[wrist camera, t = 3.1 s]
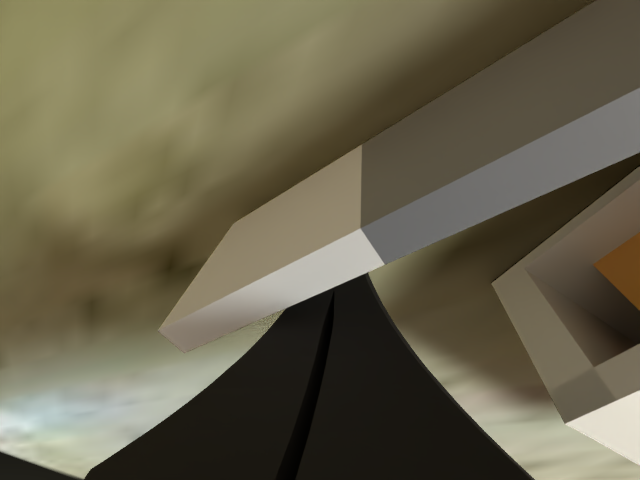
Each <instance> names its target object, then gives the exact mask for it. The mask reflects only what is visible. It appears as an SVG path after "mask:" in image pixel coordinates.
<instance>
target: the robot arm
mask: <svg viewBox="0 0 640 480" xmlns="http://www.w3.org/2000/svg"><path fill="white" fill-rule="evenodd" d="M84 480H535V479H534V478H532V477H531V476H530V475H529V474H528V473H527V472H526V471H525V470H524V469H523V468H522V467H521V466H520V465H519V464H518V463H517V462H515V461H514V460H513V459H512V458H511V457H510V456H509V455H508V454H507V453H506V452H505V451H504V450H503V449H502V448H501V447H500V446H499V445H498V444H497V443H496V442H495V441H494V440H493V439H492V438H491V437H490V436H489V435H488V434H487V433H486V432H485V431H484V430H483V429H482V428H481V427H480V426H479V425H478V424H477V423H476V422H475V421H474V420H473V419H472V418H471V417H470V416H469V415H468V414H467V413H466V412H465V410H464V409H463V408H462V407H461V406H460V405H459V404H458V403H457V402H456V401H455V400H454V398H453V397H452V396H451V395H450V394H449V393H448V392H447V390H446V389H445V388H444V387H443V386H442V385H441V384H440V382H439V381H438V380H437V379H436V378H435V377H434V376H433V374H432V373H431V372H430V371H429V370H428V369H427V367H426V366H425V365H424V364H423V362H422V361H421V360H420V359H419V357H418V356H417V355H416V353H415V352H414V351H413V350H412V348H411V347H410V345H409V344H408V343H407V341H406V340H405V339H404V337H403V336H402V334H401V333H400V331H399V330H398V328H397V327H396V325H395V324H394V322H393V321H392V319H391V317H390V316H389V314H388V312H387V311H386V309H385V307H384V306H383V304H382V302H381V300H380V298H379V296H378V294H377V292H376V290H375V288H374V286H373V284H372V282H371V279H370V277H369V274H368V272H367V273H365V274H363V275H360V276H358V277H356V278H354V279H351V280H349V281H347V282H344V283H342V284H340V285H338V286H335V287H333V288H331V289H329V290H326V291H324V292H322V293H320V294H317V295H315V296H313V297H310V298H308V299H306V300H304V301H301V302H299V303H297V304H295V305H292V306H290V307H288V308H286V309H285V311H284V312H283V313H282V314H281V315H280V317H279V318H278V319H277V320H276V321H275V323H274V324H273V325H272V326H271V327H270V328H269V329H268V331H267V332H266V333H265V334H264V335H263V336H262V337H261V338H260V339H259V340H258V341H257V342H256V343H255V344H254V345H253V346H252V347H251V348H250V349H249V350H248V351H247V352H246V353H245V354H244V355H243V356H242V357H241V358H240V359H239V360H238V361H237V362H235V363H234V364H233V365H232V366H231V367H230V368H229V369H228V370H226V371H225V372H224V373H223V374H222V375H221V376H220V377H218V378H217V379H216V380H215V381H214V382H213V383H212V384H210V385H209V386H208V387H207V388H206V389H204V390H203V391H202V392H200V393H199V394H198V395H197V396H195V397H194V398H193V399H192V400H190V401H189V402H188V403H186V404H185V405H184V406H182V407H181V408H180V409H178V410H177V411H176V412H174V413H173V414H172V415H170V416H169V417H168V418H166V419H165V420H164V421H162V422H161V423H159V424H158V425H157V426H155V427H154V428H152V429H151V430H149V431H148V432H146V433H145V434H143V435H142V436H141V437H139V438H138V439H136V440H135V441H133V442H132V443H130V444H129V445H127V446H126V447H124V448H123V449H121V450H120V451H118V452H117V453H115V454H114V455H112V456H111V457H109V458H108V459H106V460H105V461H103V462H102V463H100V464H98V465H97V466H95V467H94V468H92V469H91V470H90V471H89V473H88V474H87V476H86V477H85V479H84Z"/></svg>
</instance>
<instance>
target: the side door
mask: <svg viewBox="0 0 640 480" xmlns="http://www.w3.org/2000/svg"><path fill="white" fill-rule="evenodd" d="M639 152H640V0H596V1H594V2H593V3H591V4H589V5H588V6H586V7H584V8H583V9H581V10H579V11H578V12H576V13H575V14H573V15H571V16H570V17H568V18H566V19H565V20H563V21H562V22H560V23H558V24H557V25H555V26H553V27H552V28H550V29H549V30H547V31H545V32H544V33H542V34H540V35H539V36H537V37H536V38H534V39H532V40H531V41H529V42H527V43H526V44H524V45H523V46H521V47H519V48H518V49H516V50H514V51H513V52H511V53H510V54H508V55H506V56H505V57H503V58H501V59H500V60H498V61H497V62H495V63H493V64H492V65H490V66H488V67H487V68H485V69H484V70H482V71H480V72H479V73H477V74H475V75H474V76H472V77H471V78H469V79H467V80H466V81H464V82H462V83H461V84H459V85H458V86H456V87H454V88H453V89H451V90H449V91H448V92H446V93H445V94H443V95H441V96H440V97H438V98H436V99H435V100H433V101H432V102H430V103H428V104H427V105H425V106H423V107H422V108H420V109H418V110H417V111H415V112H414V113H412V114H410V115H409V116H407V117H405V118H404V119H402V120H401V121H399V122H397V123H396V124H394V125H392V126H391V127H389V128H388V129H386V130H384V131H383V132H381V133H379V134H378V135H376V136H375V137H373V138H371V139H370V140H368V141H366V142H365V143H363V144H362V145H360V146H358V147H357V148H355V149H353V150H352V151H350V152H349V153H347V154H345V155H344V156H342V157H340V158H339V159H337V160H336V161H334V162H332V163H331V164H329V165H327V166H326V167H324V168H323V169H321V170H319V171H318V172H316V173H314V174H313V175H311V176H310V177H308V178H306V179H305V180H303V181H301V182H300V183H298V184H297V185H295V186H293V187H292V188H290V189H288V190H287V191H285V192H284V193H282V194H280V195H279V196H277V197H275V198H274V199H272V200H270V201H269V202H267V203H266V204H264V205H262V206H261V207H259V208H257V209H256V210H254V211H253V212H251V213H249V214H248V215H246V216H244V217H243V218H241V219H240V220H238V221H236V222H235V223H233V225H232V226H231V228H230V229H229V230H228V232H227V233H226V235H225V236H224V237H223V239H222V240H221V242H220V243H219V244H218V246H217V247H216V249H215V250H214V252H213V253H212V254H211V256H210V257H209V259H208V260H207V261H206V263H205V264H204V266H203V267H202V268H201V270H200V271H199V273H198V274H197V276H196V277H195V278H194V280H193V281H192V283H191V284H190V285H189V287H188V288H187V290H186V291H185V292H184V294H183V295H182V297H181V298H180V299H179V301H178V302H177V304H176V305H175V307H174V308H173V309H172V311H171V312H170V314H169V315H168V316H167V318H166V319H165V321H164V322H163V323H162V325H161V326H160V328H159V329H158V332H160V333H161V334H162V335H163V336H164V337H166V338H167V339H168V340H169V341H170V342H171V343H173V344H174V345H175V346H176V347H177V348H179V349H180V350H181V351H182V352H183V353H186V352H188V351H190V350H193V349H195V348H197V347H199V346H202V345H204V344H206V343H208V342H211V341H213V340H215V339H217V338H220V337H222V336H224V335H227V334H229V333H231V332H233V331H236V330H238V329H240V328H242V327H245V326H247V325H249V324H251V323H254V322H256V321H258V320H261V319H263V318H265V317H267V316H270V315H272V314H274V313H276V312H279V311H281V310H283V309H286V308H288V307H290V306H292V305H295V304H297V303H299V302H301V301H304V300H306V299H308V298H310V297H313V296H315V295H317V294H320V293H322V292H324V291H326V290H329V289H331V288H333V287H335V286H338V285H340V284H342V283H344V282H347V281H349V280H351V279H354V278H356V277H358V276H360V275H363V274H365V273H367V272H369V271H372V270H374V269H376V268H379V267H381V266H383V265H385V264H388V263H390V262H392V261H394V260H397V259H399V258H401V257H403V256H406V255H408V254H410V253H413V252H415V251H417V250H419V249H422V248H424V247H426V246H428V245H431V244H433V243H435V242H437V241H440V240H442V239H444V238H447V237H449V236H451V235H453V234H456V233H458V232H460V231H462V230H465V229H467V228H469V227H472V226H474V225H476V224H478V223H481V222H483V221H485V220H487V219H490V218H492V217H494V216H496V215H499V214H501V213H503V212H506V211H508V210H510V209H512V208H515V207H517V206H519V205H521V204H524V203H526V202H528V201H530V200H533V199H535V198H537V197H540V196H542V195H544V194H546V193H549V192H551V191H553V190H555V189H558V188H560V187H562V186H565V185H567V184H569V183H571V182H574V181H576V180H578V179H580V178H583V177H585V176H587V175H589V174H592V173H594V172H596V171H599V170H601V169H603V168H605V167H608V166H610V165H612V164H614V163H617V162H619V161H621V160H623V159H626V158H628V157H630V156H633V155H635V154H637V153H639Z"/></svg>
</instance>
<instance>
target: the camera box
mask: <svg viewBox="0 0 640 480" xmlns="http://www.w3.org/2000/svg"><path fill="white" fill-rule="evenodd" d="M491 284H492V286H493V288H494V290H495V291H496V293H497V295H498V297H499V299H500V301H501V303H502V305H503V307H504V309H505V311H506V312H507V314H508V316H509V318H510V320H511V322H512V324H513V326H514V328H515V330H516V331H517V333H518V335H519V337H520V339H521V341H522V343H523V345H524V347H525V349H526V351H527V352H528V354H529V356H530V358H531V360H532V362H533V364H534V366H535V368H536V370H537V372H538V373H539V375H540V377H541V379H542V381H543V383H544V385H545V387H546V389H547V391H548V393H549V394H550V396H551V398H552V400H553V402H554V404H555V406H556V408H557V410H558V412H559V414H560V415H561V417H562V419H563V421H564V423H565V424H566V425H568V426H570V427H571V428H573V429H575V430H577V431H579V432H580V433H582V434H584V435H586V436H588V437H589V438H591V439H593V440H595V441H597V442H598V443H600V444H602V445H604V446H606V447H607V448H609V449H611V450H613V451H615V452H616V453H618V454H620V455H622V456H624V457H625V458H627V459H629V460H631V461H633V462H634V463H636V464H638V465H640V166H639V167H638V168H636V169H635V170H634V171H633V172H631V173H630V174H629V175H628V176H626V177H625V178H624V179H623V180H621V181H620V182H619V183H618V184H616V185H615V186H614V187H612V188H611V189H610V190H609V191H607V192H606V193H605V194H604V195H602V196H601V197H600V198H599V199H597V200H596V201H595V202H593V203H592V204H591V205H590V206H588V207H587V208H586V209H585V210H583V211H582V212H581V213H580V214H578V215H577V216H576V217H575V218H573V219H572V220H571V221H569V222H568V223H567V224H566V225H564V226H563V227H562V228H561V229H559V230H558V231H557V232H556V233H554V234H553V235H552V236H550V237H549V238H548V239H547V240H545V241H544V242H543V243H542V244H540V245H539V246H538V247H537V248H535V249H534V250H533V251H531V252H530V253H529V254H528V255H526V256H525V257H524V258H523V259H521V260H520V261H519V262H518V263H516V264H515V265H514V266H513V267H511V268H510V269H509V270H507V271H506V272H505V273H504V274H502V275H501V276H500V277H499V278H497V279H496V280H495V281H494V282H492V283H491Z"/></svg>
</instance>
